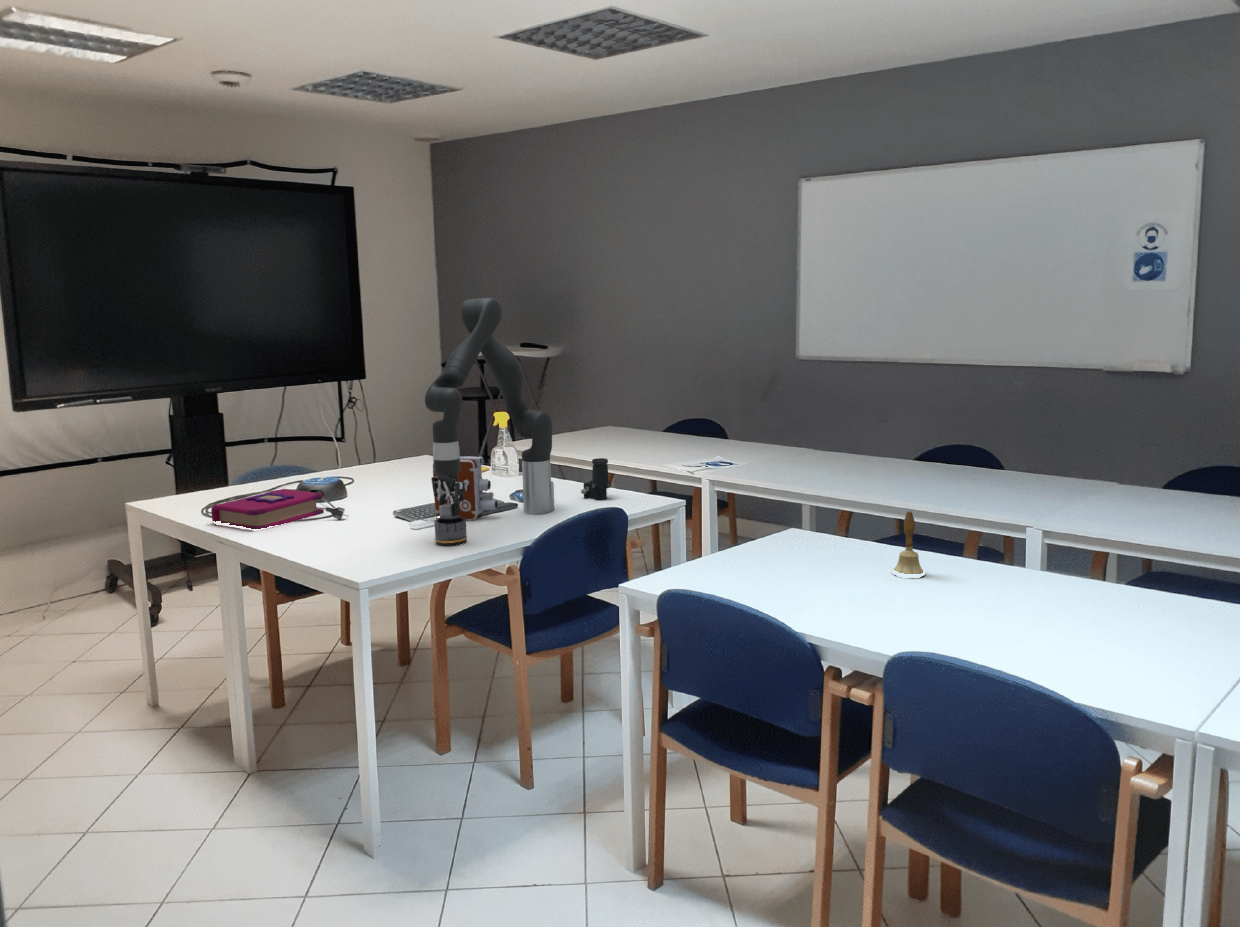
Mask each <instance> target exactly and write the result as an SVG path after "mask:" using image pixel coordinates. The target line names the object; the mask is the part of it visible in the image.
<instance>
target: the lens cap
mask: <svg viewBox="0 0 1240 927" xmlns="http://www.w3.org/2000/svg"><path fill="white" fill-rule="evenodd" d="M439 512H440V518H441V519H455V518H458V517H459V516H455V517H453V516H452V514H451V503H447V504H443V505H440V506H439Z"/></svg>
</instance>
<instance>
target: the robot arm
mask: <svg viewBox="0 0 1240 927" xmlns="http://www.w3.org/2000/svg"><path fill="white" fill-rule="evenodd" d="M460 315H461V320H462V322H463V325H464V326H465V328H466V330H467V332H468V333H469V335H468V336H467V337H466V338H465V339H464V340H463V341H462V342H461V343H460V344H459V345H458V346H457V347H455V349H454V350H453V351H452V353H451V354H450V356H449V357H448V359H447V362H446V364H445V366H444V367H443V370H442V372H441V373H440V374H439V375H438V376H437V377H436V379H434V381H433V382H432V384H431V385H430V386H429V387H428V389H427V390H426V393H425V396H424V404H425V407H426V408H427V410H428V411H430V412H433V413H444V415H443V418H442V419H439V420H437V421H434V423H433V424H432V458H433V459H432V460H433V463H434V473H435V474H437V475H438V476H437V477H433V476H432V477H431V485H432V492H433V498H434V497H437V499H438V500H439V506H440V505H443V504H447V500H445V499H447V495H448V497H450V501H451V514H452V516H453V517H455V516H459V503H460V502H463V501H464V488H465V483H464V482H459V481H458V478H457V474H458V473H460V456H461V455H460V454H461V453H460V444H459V435H458V434H459V432H458V431H459V429H458V425H459V422H460V417H461V411H462V408H463V396H462V394H461V392H460V391H459V390H458V389H459V388H461V387H463V386H464V385H465V383H466V381H467V379H468V377H469V374H470V373H471V370H472V368H473V366H474V363H475V362H476V360H477V358H478V357H479V354H480V353H481V355H482V356H483V358H484V361H485V363H486V364H487V367H488V369H489V371H490V374H491V376H492V378H493V381H494V382H495V384H496V386H497V387H498V390H499V392H500V394H501V396H502V398H503V400H504V401H503V402H504V403H505V405H506V408H507V409H508V413H509V415H510V418H511V421H512V425H513V426H514V429H515V431H516V433H517V435H519V436H520V437H521V438H523V439H528V440H529V439H530V440H531V446H530V447H529V448H527V449H524V450H523V451H522V452H521V468H522V470H521V472H522V492H523V493H522V495H523V513H525V514H529V515H530V514H531V515H540V514H541V515H542V514H547V513H548V514H549V513H551V512H552V511H554V510H555V488H554V486H555V485H554V484H555V483H554V481H552V476H551V474H552V473H551V469H552V468H551V454H552V450H553V449H552V448H553V423H552V417H551V416H550V414H549V413H548V412H547V411H545V410H543V411H542V410H535V409H534V410H533V409H530V408H529V406H528V405H527V402H526V401H525V397H524V395H523V394H524V389H525V388H524V387H525V382H526V381H525V373H524V370H523V368H522V366H521V364H520V362H519V359H518V358H517V356H516V355H515V354H514V353H513V351H512V350H510V349H509V348H508V347H507V346H506V345H504V344H503V343H502V342H501V341H500V340H499V339H498V338H497V337H496V336H495V335H494V333H495V331H496V330H497V328H498V327H499V325H500V323H501V321H502V317H503V309H502V305H501V303H500V302H499V301H498V300H497V299H496V298H493V297H480V298H471V299H466V300H465V301H463V303H462V305H461V307H460ZM433 463H432V464H433ZM437 489H438V490H437ZM454 491H455V492H454ZM437 492H438V493H437ZM451 492H454V493H451ZM459 495H460V498H459ZM453 496H455V497H454V498H453Z"/></svg>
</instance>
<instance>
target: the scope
mask: <svg viewBox="0 0 1240 927" xmlns="http://www.w3.org/2000/svg"><path fill="white" fill-rule="evenodd" d="M591 463H592V470H591V471H592V473H591V474H592V475H591V476H592V478H591V480H589V481H588V482H583V488H582V489H581V490H580V493H581V494H583V498H584V499H591V500H595V501H606V500H607V499H608V496H607V494H608V489H610V487H611V482H610V481H609V480H610V479H609V466H608V463H609V459H608V458H605V457H602V458H600V457H598V458H593V459H592V460H591Z"/></svg>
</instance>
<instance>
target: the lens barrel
mask: <svg viewBox="0 0 1240 927" xmlns="http://www.w3.org/2000/svg"><path fill="white" fill-rule="evenodd" d="M433 524H434V537H435V538H434V540H435V544H436V545H437V546H440V547H441V546H442V547H455V546H456V545H457V546H460V544H462V545H464V544H466V543H468V535H467V520H466V518H463V517H458V518H455V519H441V518H437V519H435V520H434V522H433ZM463 543H464V544H463Z"/></svg>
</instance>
